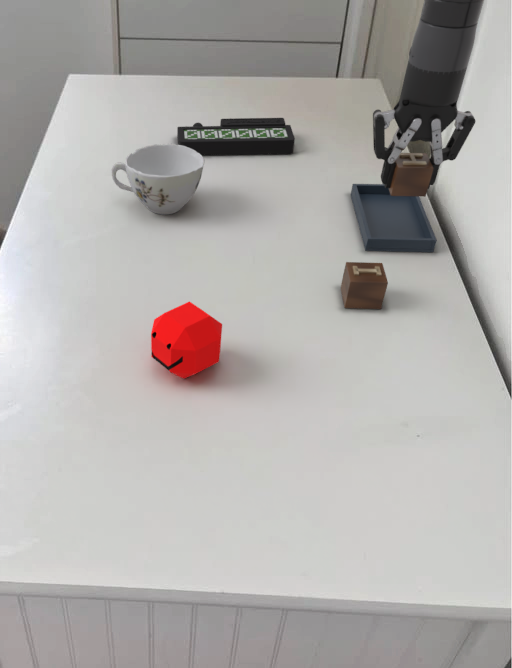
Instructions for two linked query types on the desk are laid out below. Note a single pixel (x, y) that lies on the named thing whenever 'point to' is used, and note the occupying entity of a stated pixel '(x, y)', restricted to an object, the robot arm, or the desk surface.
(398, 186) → the tile
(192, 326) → the ball
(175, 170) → the teacup
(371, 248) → the word tray
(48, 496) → the desk surface
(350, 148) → the desk surface
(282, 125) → the digital display
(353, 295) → the tile
